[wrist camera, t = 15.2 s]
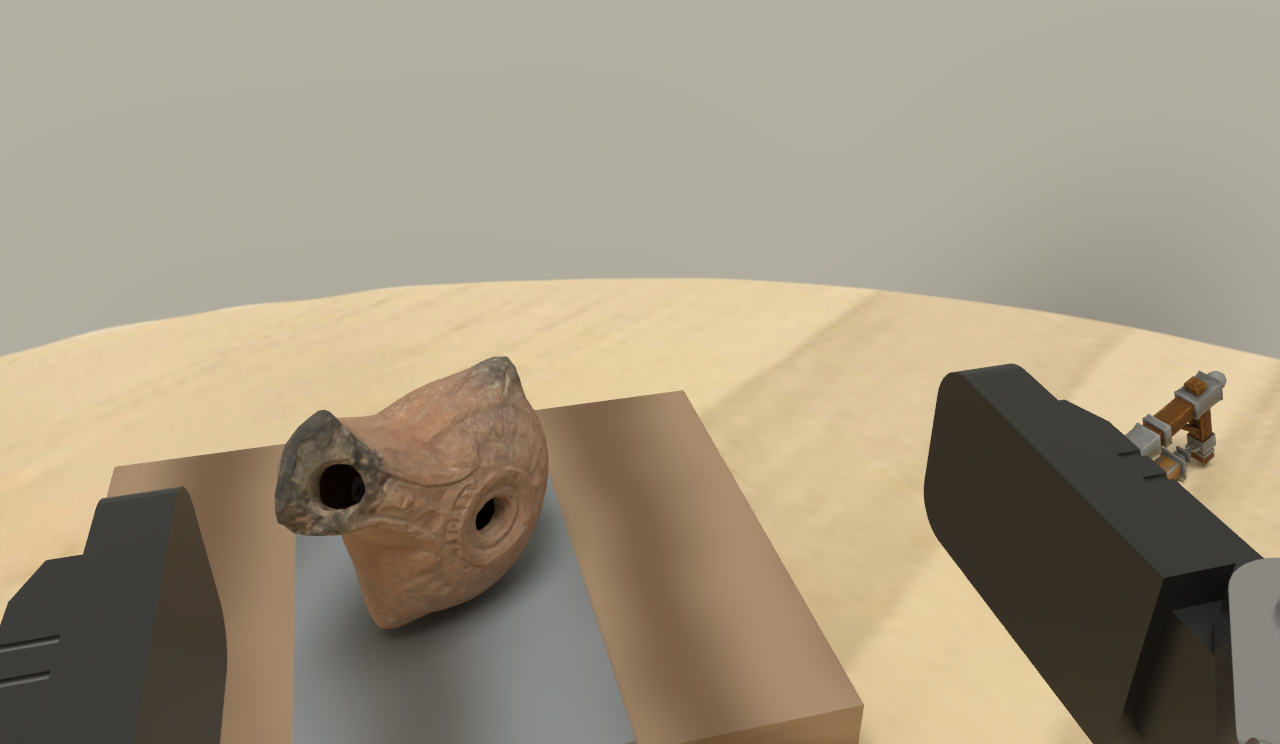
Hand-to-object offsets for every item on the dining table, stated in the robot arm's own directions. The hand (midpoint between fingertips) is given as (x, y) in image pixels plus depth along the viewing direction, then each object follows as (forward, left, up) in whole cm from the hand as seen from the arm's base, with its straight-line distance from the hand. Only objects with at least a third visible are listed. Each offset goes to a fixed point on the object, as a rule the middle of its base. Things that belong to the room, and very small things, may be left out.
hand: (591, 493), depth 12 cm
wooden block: (+1, -16, -17) cm, 24 cm away
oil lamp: (+2, -14, -14) cm, 20 cm away
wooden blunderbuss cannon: (-24, -18, -18) cm, 35 cm away
